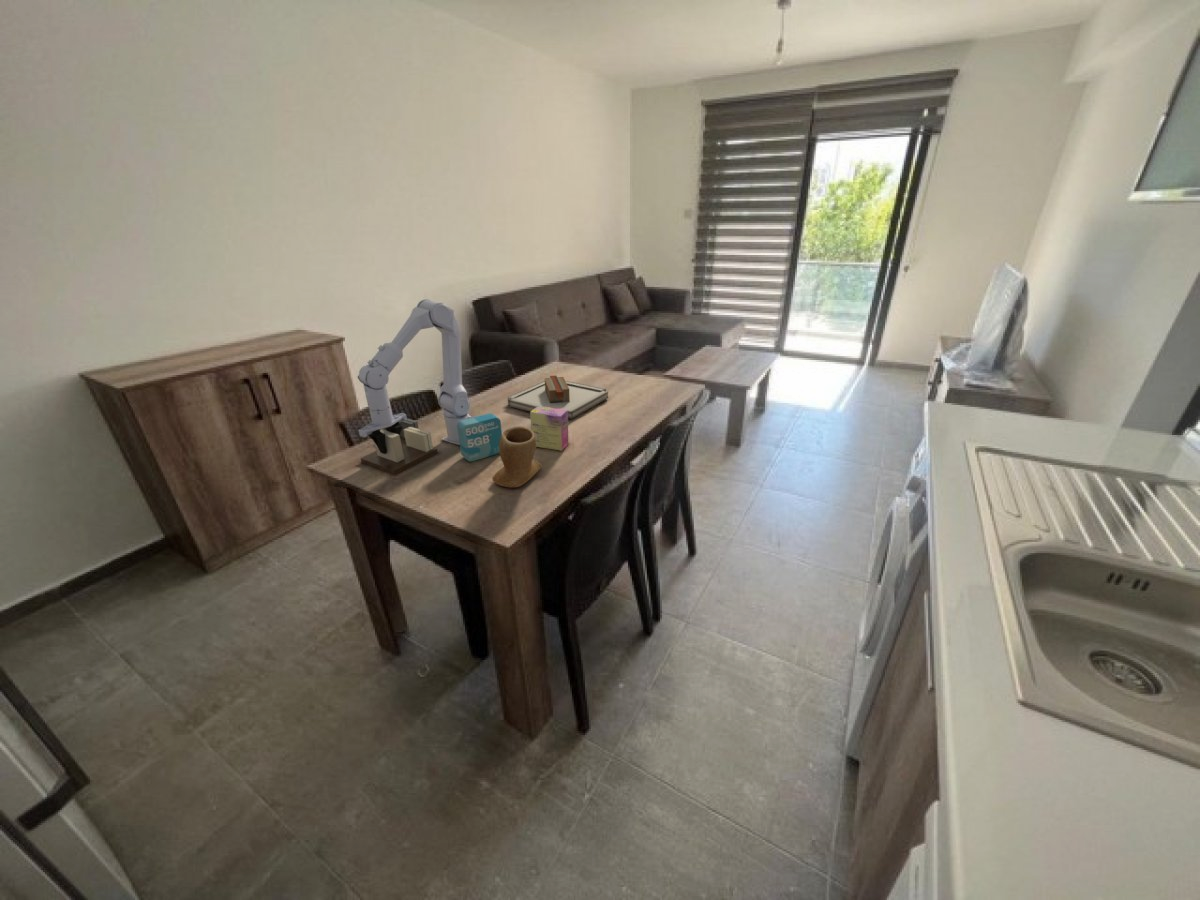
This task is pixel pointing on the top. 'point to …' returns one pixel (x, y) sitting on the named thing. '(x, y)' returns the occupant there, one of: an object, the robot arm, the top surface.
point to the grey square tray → (558, 396)
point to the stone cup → (517, 457)
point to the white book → (391, 447)
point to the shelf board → (410, 459)
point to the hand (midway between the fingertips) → (389, 450)
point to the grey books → (407, 425)
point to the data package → (479, 436)
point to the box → (550, 427)
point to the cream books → (418, 439)
